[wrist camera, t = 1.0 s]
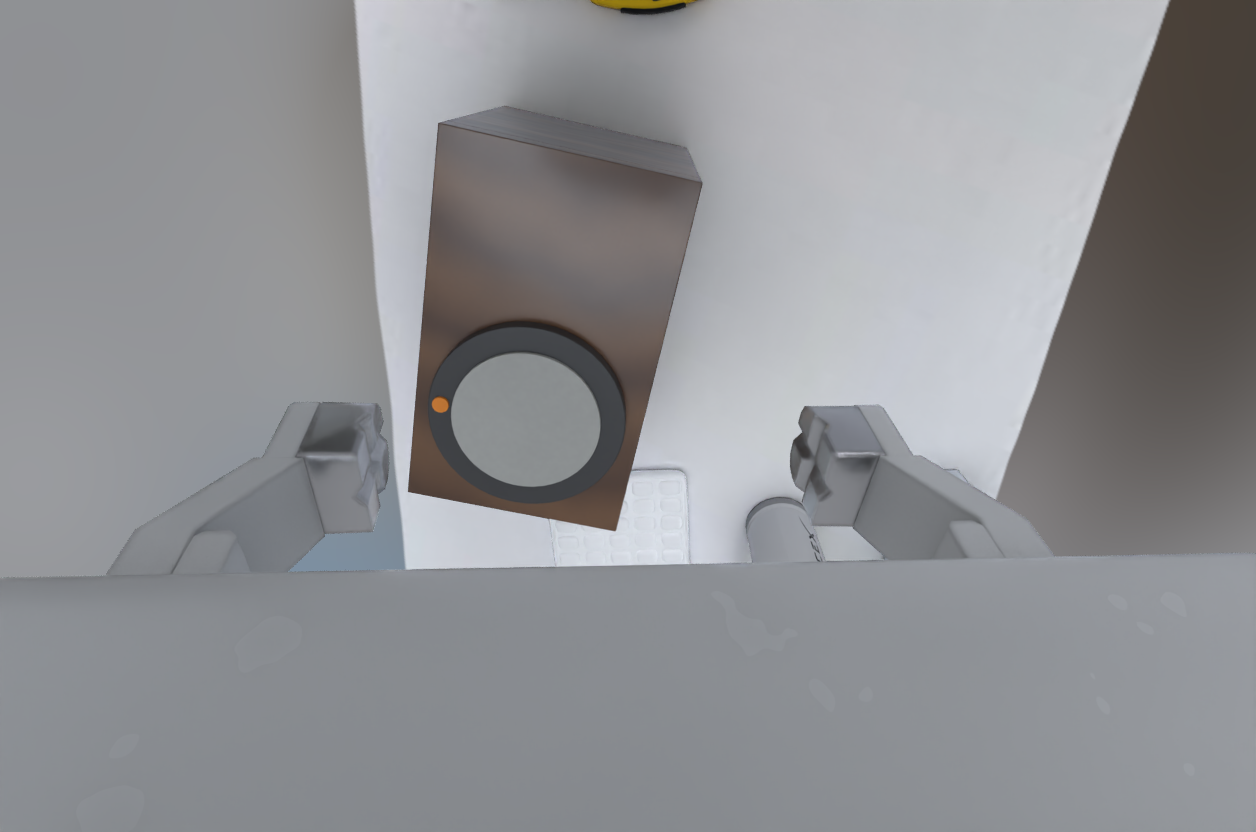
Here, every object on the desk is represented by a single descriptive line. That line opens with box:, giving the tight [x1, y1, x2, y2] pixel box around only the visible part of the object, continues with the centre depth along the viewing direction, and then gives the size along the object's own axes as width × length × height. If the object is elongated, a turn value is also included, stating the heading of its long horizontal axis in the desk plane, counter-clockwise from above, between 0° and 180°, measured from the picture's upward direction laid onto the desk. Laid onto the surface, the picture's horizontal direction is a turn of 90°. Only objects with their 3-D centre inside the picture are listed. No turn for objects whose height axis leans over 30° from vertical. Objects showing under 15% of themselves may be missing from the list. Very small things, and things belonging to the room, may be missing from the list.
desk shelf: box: [408, 106, 702, 531], centre depth 49 cm, size 23×14×18 cm, turn 168°
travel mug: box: [746, 498, 825, 563], centre depth 59 cm, size 6×7×20 cm
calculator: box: [549, 470, 690, 567], centre depth 69 cm, size 13×20×2 cm, turn 4°
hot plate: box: [428, 321, 626, 504], centre depth 43 cm, size 12×12×1 cm
